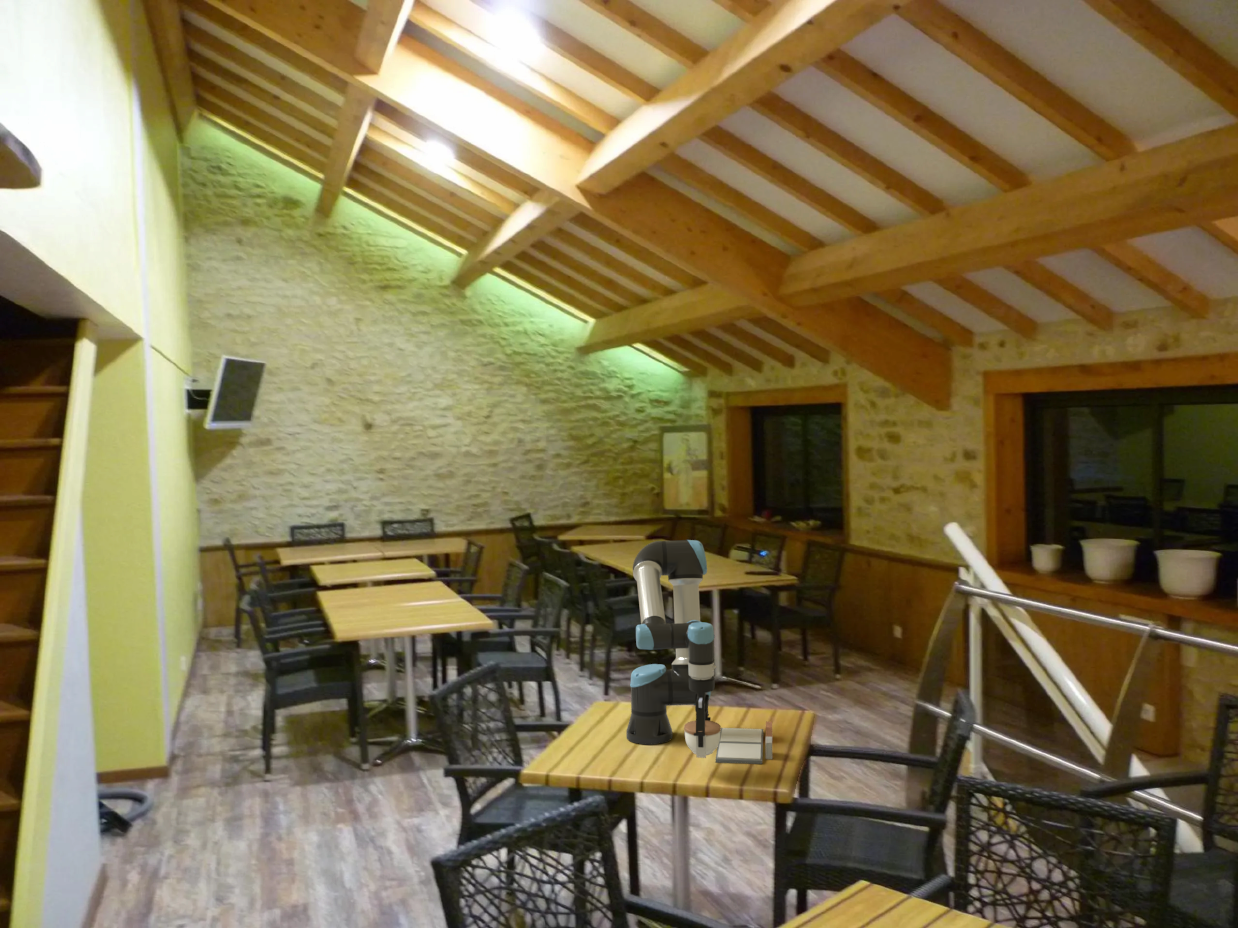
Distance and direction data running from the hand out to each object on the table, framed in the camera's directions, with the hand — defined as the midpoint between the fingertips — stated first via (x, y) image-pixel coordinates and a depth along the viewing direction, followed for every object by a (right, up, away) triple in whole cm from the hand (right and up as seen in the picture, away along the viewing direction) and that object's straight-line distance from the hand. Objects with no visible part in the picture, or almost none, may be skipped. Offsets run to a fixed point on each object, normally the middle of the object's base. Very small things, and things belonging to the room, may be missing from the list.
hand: (702, 749), depth 280 cm
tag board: (+15, -6, +23) cm, 28 cm away
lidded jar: (0, -1, 0) cm, 1 cm away
